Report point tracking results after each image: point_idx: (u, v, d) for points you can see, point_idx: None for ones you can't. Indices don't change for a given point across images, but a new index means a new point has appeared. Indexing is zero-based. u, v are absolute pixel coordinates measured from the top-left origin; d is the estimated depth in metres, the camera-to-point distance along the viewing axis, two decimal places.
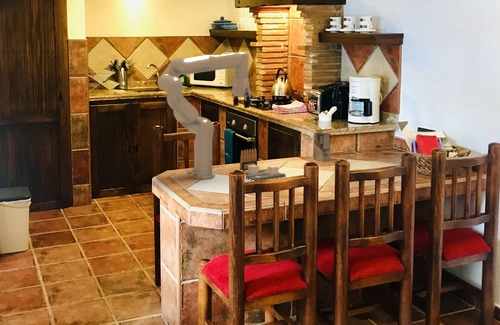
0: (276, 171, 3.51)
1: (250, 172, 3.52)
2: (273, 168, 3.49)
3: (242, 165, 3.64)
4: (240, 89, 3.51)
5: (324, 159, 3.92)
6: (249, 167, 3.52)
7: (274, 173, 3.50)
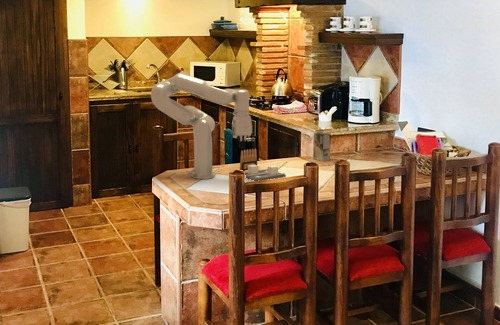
0: (276, 171, 3.51)
1: (250, 172, 3.52)
2: (273, 168, 3.49)
3: (242, 165, 3.64)
4: (249, 127, 3.43)
5: (324, 159, 3.92)
6: (249, 167, 3.52)
7: (274, 173, 3.50)
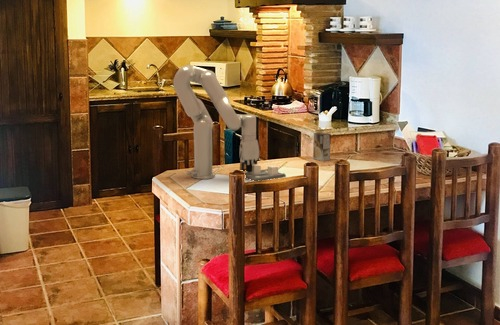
0: (276, 171, 3.51)
1: (252, 172, 3.53)
2: (273, 168, 3.49)
3: (242, 165, 3.64)
4: (256, 151, 3.49)
5: (324, 159, 3.92)
6: None
7: (274, 173, 3.50)
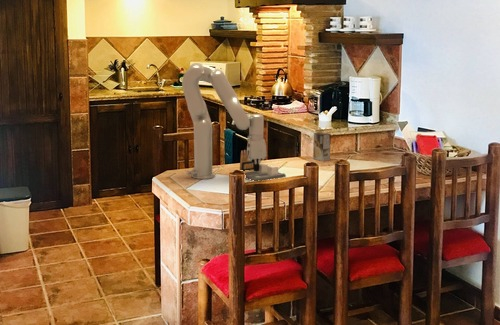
0: (276, 171, 3.51)
1: (259, 171, 3.55)
2: (273, 168, 3.49)
3: (242, 165, 3.64)
4: (263, 150, 3.51)
5: (324, 159, 3.92)
6: None
7: (274, 173, 3.50)
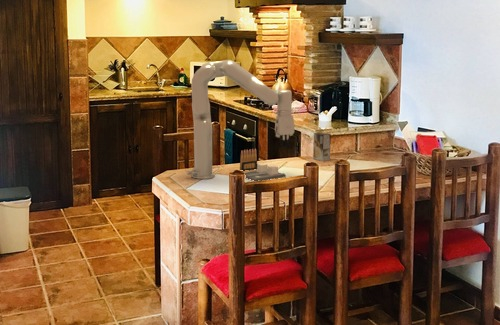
0: (276, 171, 3.51)
1: (259, 171, 3.55)
2: (273, 168, 3.49)
3: (242, 165, 3.64)
4: (291, 126, 3.50)
5: (324, 159, 3.92)
6: (258, 166, 3.56)
7: (274, 173, 3.50)
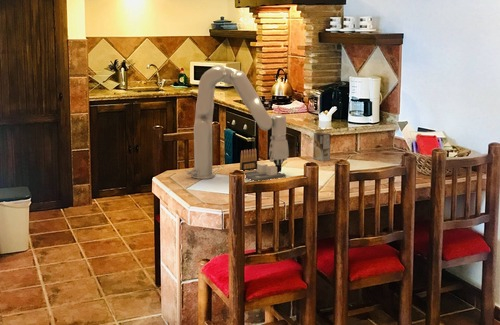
0: (275, 171, 3.50)
1: (259, 171, 3.55)
2: (272, 168, 3.49)
3: (242, 165, 3.64)
4: (285, 151, 3.51)
5: (324, 159, 3.92)
6: (258, 166, 3.56)
7: (273, 173, 3.50)
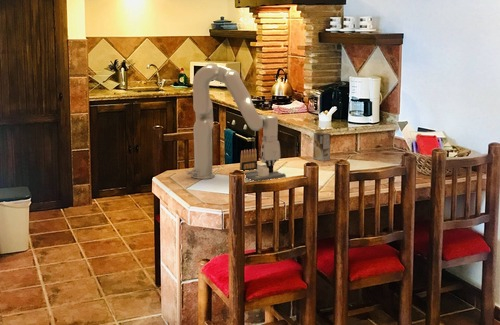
0: (266, 172, 3.47)
1: None
2: (264, 169, 3.46)
3: (242, 165, 3.64)
4: (277, 152, 3.48)
5: (324, 159, 3.92)
6: (258, 166, 3.56)
7: (265, 174, 3.47)
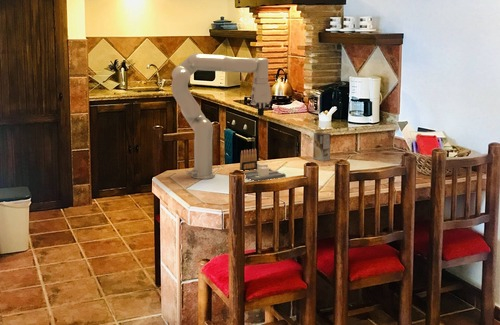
0: (266, 172, 3.47)
1: None
2: (264, 169, 3.46)
3: (242, 165, 3.64)
4: (268, 95, 3.51)
5: (324, 159, 3.92)
6: (258, 166, 3.56)
7: (265, 174, 3.47)
